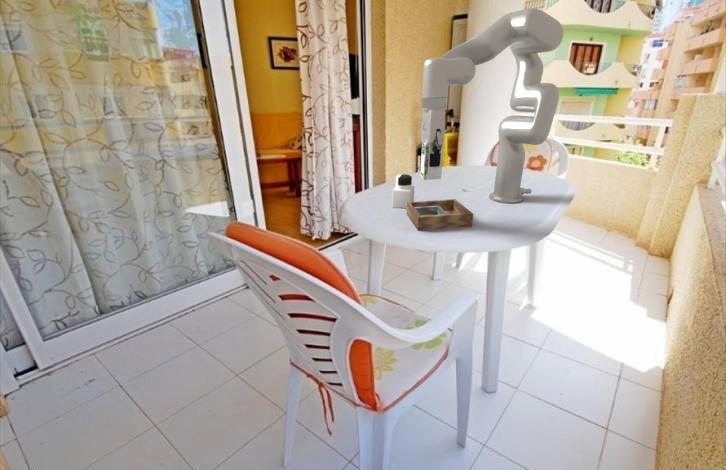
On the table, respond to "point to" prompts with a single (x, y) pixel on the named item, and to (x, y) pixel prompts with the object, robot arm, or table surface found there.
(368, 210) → the table surface
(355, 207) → the table surface
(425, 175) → the syrup box
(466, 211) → the walled box
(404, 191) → the medicine bottle
